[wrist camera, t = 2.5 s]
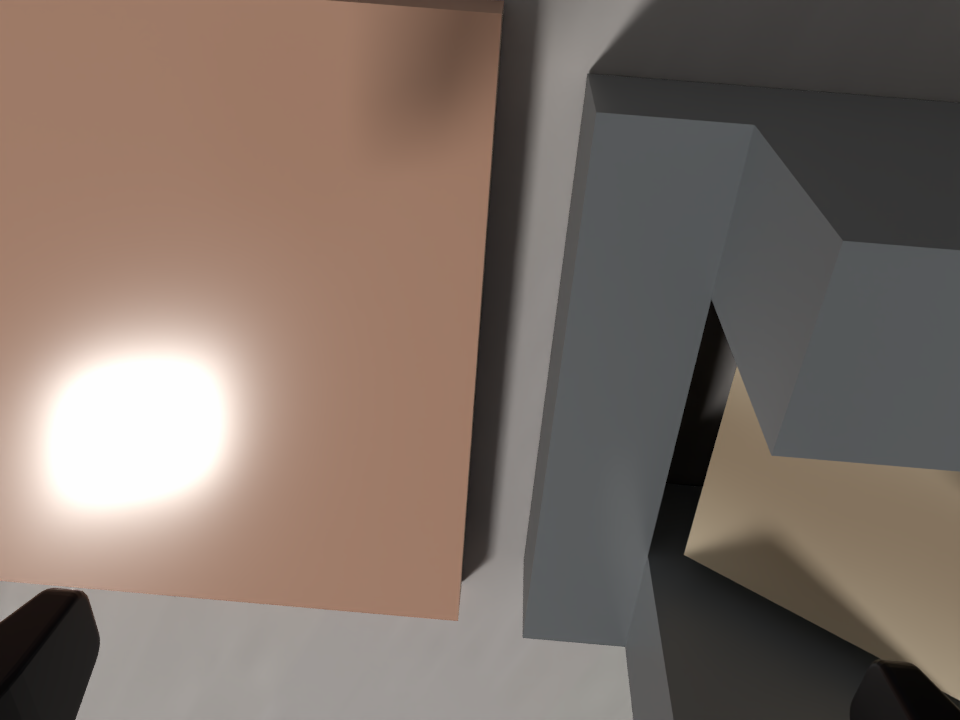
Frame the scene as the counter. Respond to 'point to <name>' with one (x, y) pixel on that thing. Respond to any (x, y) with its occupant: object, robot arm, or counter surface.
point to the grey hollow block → (757, 352)
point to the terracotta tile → (243, 295)
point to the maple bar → (837, 543)
